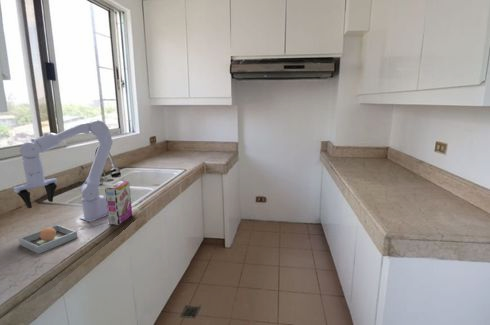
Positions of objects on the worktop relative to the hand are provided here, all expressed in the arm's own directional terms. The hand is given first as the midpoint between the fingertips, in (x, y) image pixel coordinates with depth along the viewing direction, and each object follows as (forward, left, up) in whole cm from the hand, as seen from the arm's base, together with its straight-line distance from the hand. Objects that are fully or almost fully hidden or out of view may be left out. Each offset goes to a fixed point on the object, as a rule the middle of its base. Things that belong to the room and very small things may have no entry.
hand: (40, 204), depth 109 cm
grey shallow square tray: (+5, +14, -10) cm, 18 cm away
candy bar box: (-20, +22, -11) cm, 32 cm away
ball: (+5, +14, -10) cm, 18 cm away
